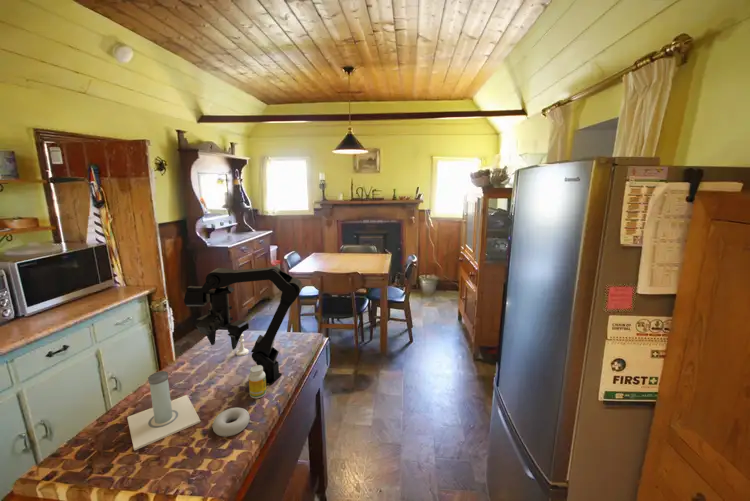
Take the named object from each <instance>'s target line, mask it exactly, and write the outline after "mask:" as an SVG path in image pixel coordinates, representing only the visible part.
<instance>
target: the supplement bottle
mask: <svg viewBox="0 0 750 501" xmlns="http://www.w3.org/2000/svg"><path fill="white" fill-rule="evenodd" d="M249 371H250V372H249V375H248V388H249V396H250V397H251V398H253V399H259V398H262V397H265V395H266V393H267V383H266V375H265V372H264V371H263V366H261V365H257V364H256V365H253V366H251V368H250V370H249Z"/></svg>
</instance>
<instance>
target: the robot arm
mask: <svg viewBox="0 0 750 501" xmlns="http://www.w3.org/2000/svg"><path fill="white" fill-rule="evenodd" d="M258 281H271V282H272V283H273V285H274V286H276V288H277V289H278V290H279V291H281V295H280V299H279V304H278V306H277V308H276V311H275V312H274V315H273V316H272V319H271V320H270V323H269V325H268V327H267V329H266V331H265V333H264V335H262V334H259V335H258V337H257V339H256V340H255V343H254V345H253V348H252V349H251V351H250V353H251V359H252V360H253V362H255V364H256V365H261V366H263V371H264V372H265V375H266V384H268V385H273V384H274V383H275V382H276V381H277V380H278V379H279V378H280V377H281V376H282V374H283V373H282V372H280V366H279V361H277V358H278V356H279V354H280V351H279V350H277V349H276V348H275V347H274V343H275V338H276V336H277V334H278V332H279V329H280V327H281V325H282V323H283V321H284V319H285V318H286V315H287V313H288V311H289V309H290V307H291V306H292V305H293V304H294V302H295V301H296V299H297V298H298V296H299V295H300V293H301V291H302V288H303V283H302V281H301V280H300V279H299V278H296V277H293V276H292V275H290V274H289V273H287V272H285V271H283V270H281V269H280V268H279V267H277V266H270V267H269V266H268V267H259V268H248V269H233V268H227V267H226V268H225V267H224V268H223V267H218V268H216V269H215V268H214V270H212V271H210V272H209V273H208V274H206V276H205V282H204V284H203V285H202V286H201V285H200V286H194V285H189V286H187V287H186V292H185V294H184V298H183V302H184V305H185V306H186V307H206V306H207V304H209V305H210V308H209V309H207V314H205V315H202V316H200V317H198V318H196V319H195V321H194V324H193V325H194V328H196V329H197V330H198V332H199V333H200V334H204V335H205V336H206V338H207V340H208V342H209V344H210V345H211V346H215V344H216V337H217V331H218V330H219V329H220V328H224V329H227V332H228V334H227V335H228V336H229V337H230V342H231V343H230V344H231V348H232V350H233V351H234V350H235V349H236V348H237V345H238V344H239V340H240V336H241V335H242V333H243V334H244V332H245V331H247V330H249V325H250V324H249V322H248V321H247V320H241V319H238V320H236V321H234V322H231V321H232V320H234V318H233V316H231V313H230V310H232V309H233V307H232V305H230V302H229V299H230V298H229V295H230V294H232V293H233V292H234V291H235V288H234V287H233V286H230V285H233V284H238V283H247V282H248V283H249V282H258Z"/></svg>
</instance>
